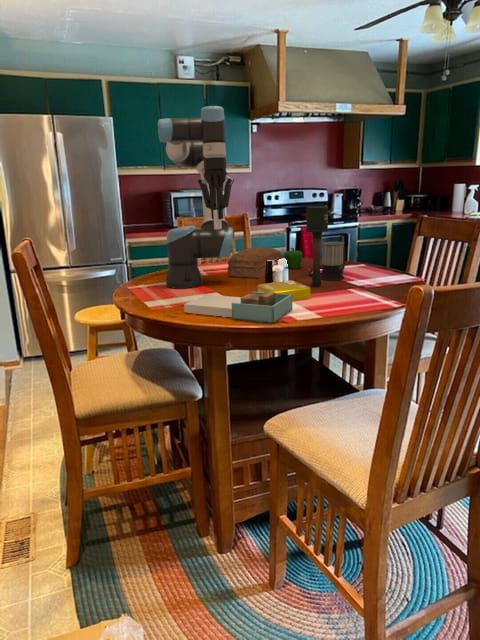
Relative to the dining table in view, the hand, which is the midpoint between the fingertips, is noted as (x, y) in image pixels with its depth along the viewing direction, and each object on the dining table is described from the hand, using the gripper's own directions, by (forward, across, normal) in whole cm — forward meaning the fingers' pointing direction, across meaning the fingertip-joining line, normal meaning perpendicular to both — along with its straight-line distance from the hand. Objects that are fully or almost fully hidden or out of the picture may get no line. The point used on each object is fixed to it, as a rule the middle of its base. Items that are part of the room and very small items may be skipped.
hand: (218, 228), depth 164 cm
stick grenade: (+25, +27, +28) cm, 46 cm away
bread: (+25, -8, +49) cm, 56 cm away
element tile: (+25, +21, +8) cm, 34 cm away
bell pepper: (+25, +5, +63) cm, 68 cm away
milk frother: (+25, +25, +46) cm, 58 cm away
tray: (+24, +23, -16) cm, 37 cm away
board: (+24, +8, -16) cm, 30 cm away
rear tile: (+22, +20, -16) cm, 34 cm away
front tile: (+21, +23, -16) cm, 35 cm away
